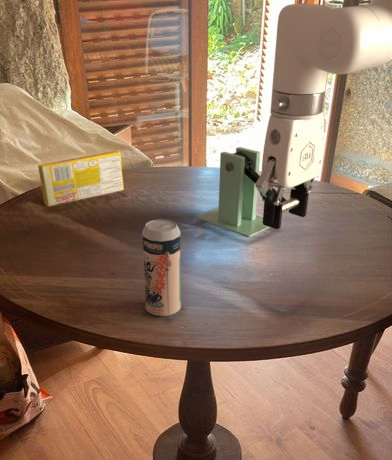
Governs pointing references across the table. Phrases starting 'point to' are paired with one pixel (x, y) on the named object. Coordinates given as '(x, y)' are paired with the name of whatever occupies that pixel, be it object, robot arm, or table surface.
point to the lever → (286, 203)
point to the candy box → (81, 178)
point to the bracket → (237, 195)
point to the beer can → (162, 267)
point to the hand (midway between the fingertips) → (284, 219)
